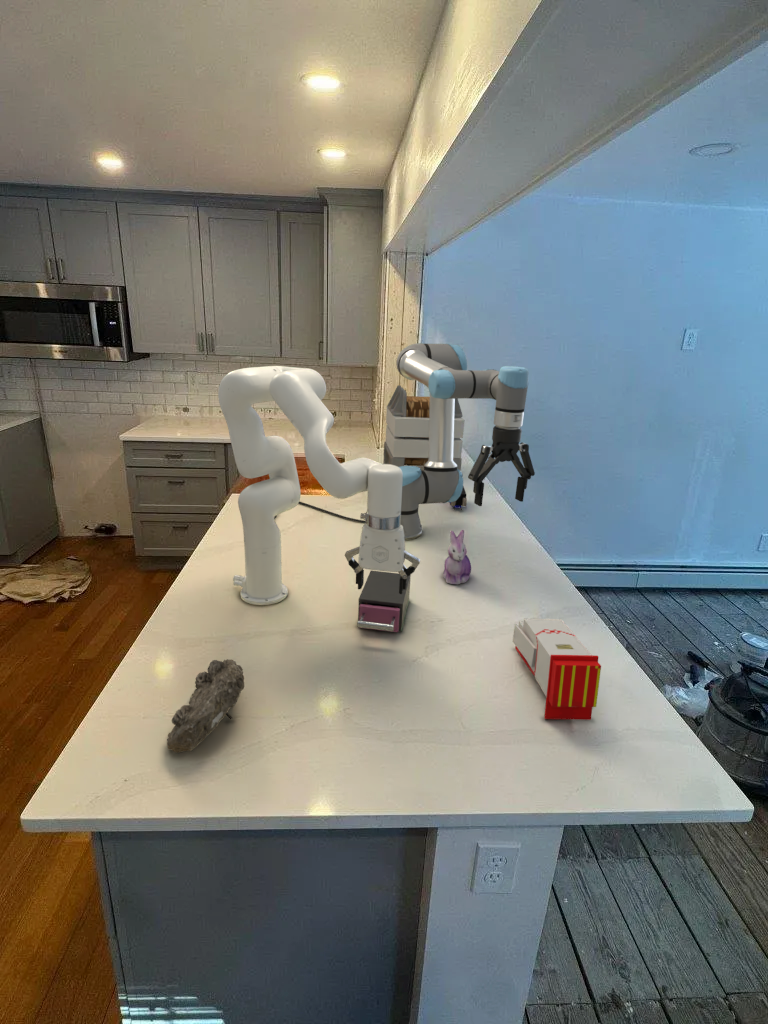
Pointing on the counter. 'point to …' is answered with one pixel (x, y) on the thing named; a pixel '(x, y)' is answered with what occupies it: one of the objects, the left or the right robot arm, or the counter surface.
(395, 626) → the drawer
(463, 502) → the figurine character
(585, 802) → the counter surface
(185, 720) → the fossil
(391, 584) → the cabinet
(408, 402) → the white slatted crate
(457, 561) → the figurine
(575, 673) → the toy
